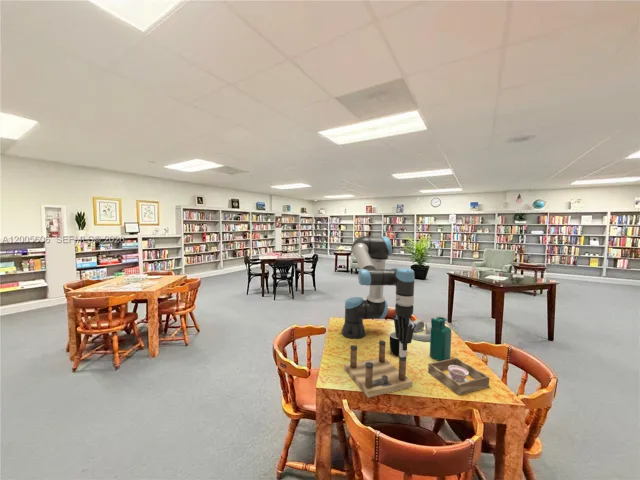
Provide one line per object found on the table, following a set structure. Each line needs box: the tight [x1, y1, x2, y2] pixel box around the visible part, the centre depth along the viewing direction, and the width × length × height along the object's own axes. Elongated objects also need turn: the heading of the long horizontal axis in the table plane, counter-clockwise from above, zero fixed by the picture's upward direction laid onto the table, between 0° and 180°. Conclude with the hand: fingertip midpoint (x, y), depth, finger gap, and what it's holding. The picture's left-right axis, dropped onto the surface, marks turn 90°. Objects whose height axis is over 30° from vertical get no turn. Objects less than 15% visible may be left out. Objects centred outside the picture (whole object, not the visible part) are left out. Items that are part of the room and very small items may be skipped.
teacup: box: [447, 365, 470, 383], centre depth 117 cm, size 12×12×6 cm
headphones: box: [412, 319, 432, 342], centre depth 168 cm, size 18×8×20 cm
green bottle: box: [429, 316, 452, 362], centre depth 138 cm, size 10×8×22 cm
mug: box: [389, 332, 399, 357], centre depth 144 cm, size 12×9×10 cm
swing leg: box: [365, 362, 388, 388], centre depth 110 cm, size 11×3×10 cm, turn 111°
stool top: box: [344, 339, 413, 399], centre depth 120 cm, size 22×22×12 cm
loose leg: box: [398, 356, 407, 380], centre depth 115 cm, size 3×3×10 cm
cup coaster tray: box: [427, 357, 490, 396], centre depth 120 cm, size 18×18×4 cm
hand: (402, 356), depth 114 cm, fingers closed
